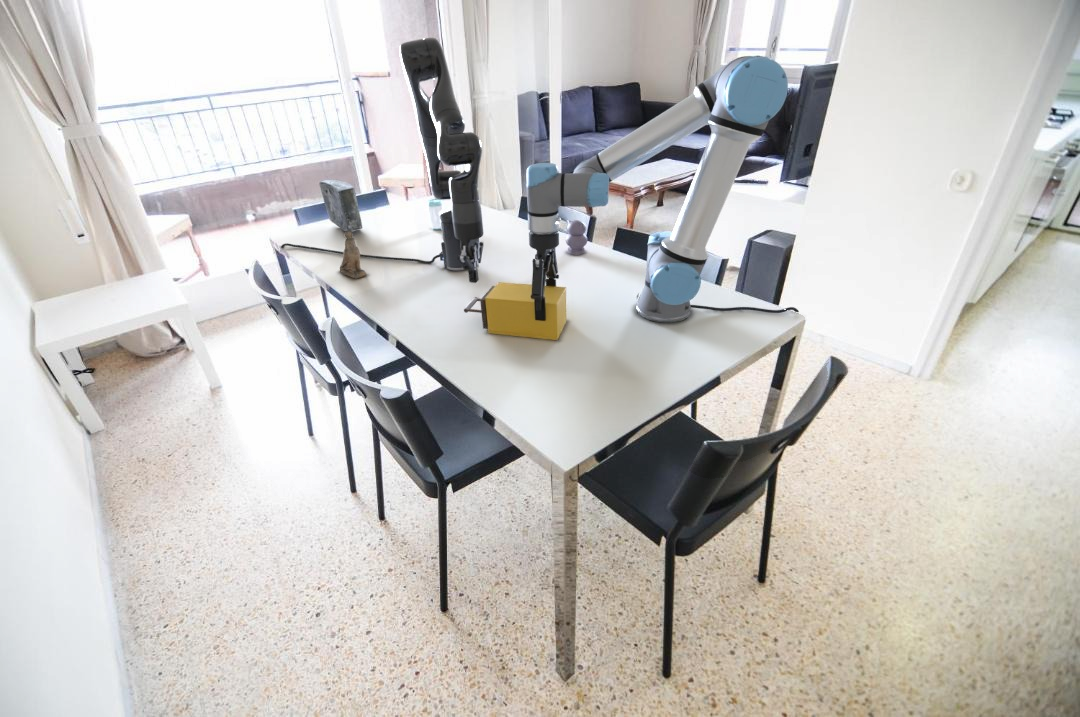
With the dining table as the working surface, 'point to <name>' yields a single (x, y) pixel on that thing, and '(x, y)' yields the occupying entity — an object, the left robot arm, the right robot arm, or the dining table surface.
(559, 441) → the dining table surface
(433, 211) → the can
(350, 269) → the brown carved statuette
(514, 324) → the yellow box
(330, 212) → the concrete block
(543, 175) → the right robot arm
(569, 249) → the grey rounded figurine
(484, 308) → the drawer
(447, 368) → the dining table surface
